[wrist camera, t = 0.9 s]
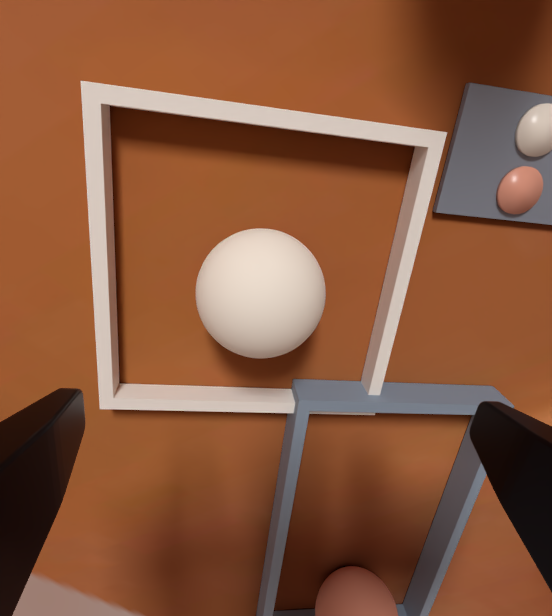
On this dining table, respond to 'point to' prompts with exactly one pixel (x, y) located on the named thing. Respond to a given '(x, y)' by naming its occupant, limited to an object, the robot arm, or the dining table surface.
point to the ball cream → (260, 293)
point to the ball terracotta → (354, 594)
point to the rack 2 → (453, 501)
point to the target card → (499, 157)
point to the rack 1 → (104, 96)
